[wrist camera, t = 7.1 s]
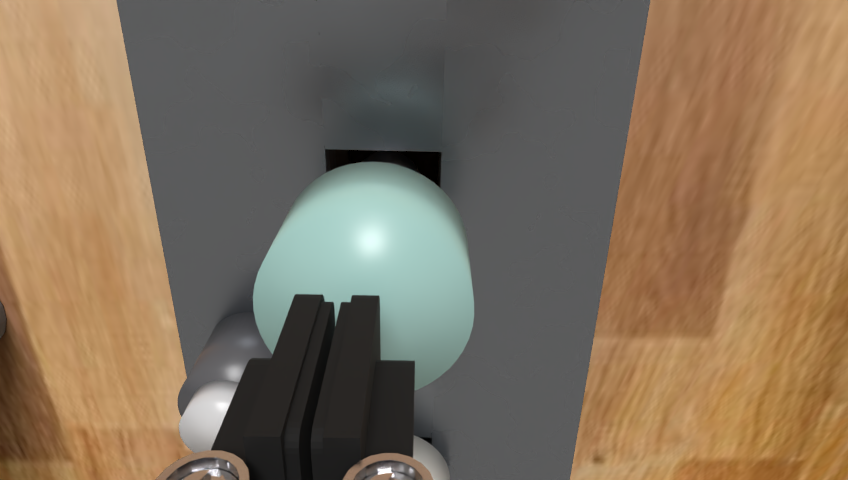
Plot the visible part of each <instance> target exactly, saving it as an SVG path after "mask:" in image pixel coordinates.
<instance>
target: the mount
mask: <svg viewBox="0 0 848 480" xmlns="http://www.w3.org/2000/svg"><path fill="white" fill-rule="evenodd" d="M649 5H650V0H117V6H118V11H119V16H120V22H121V27H122V32H123V38H124V43H125V48H126V54H127V59H128V64H129V70H130V75H131V80H132V86H133V91H134V97H135V102H136V107H137V113H138V118H139V123H140V129H141V134H142V139H143V145H144V150H145V155H146V161H147V166H148V171H149V177H150V182H151V187H152V193H153V198H154V204H155V209H156V214H157V220H158V225H159V230H160V236H161V241H162V246H163V252H164V257H165V262H166V268H167V273H168V278H169V284H170V289H171V295H172V300H173V305H174V311H175V316H176V321H177V327H178V332H179V337H180V343H181V348H182V353H183V359H184V364H185V369H186V375H187V377H188V375H189V373H190V371H191V370H192V368H193V366H194V364H195V362H196V361H197V359H198V357H199V355H200V353H201V352H202V350H203V348H204V346H205V344H206V343H207V341H208V339H209V337H210V335H211V334H212V332H213V330H214V328H215V327H216V326H217V325H218V323H219V322H221V321H222V320H223V319H225V318H226V317H228V316H231V315H233V314H237V313H243V312H254V310H253V292H254V285H255V281H256V277H257V274H258V271H259V269H260V267H261V265H262V263H263V261H264V259H265V257H266V255H267V253H268V251H269V249H270V247H271V245H272V243H273V241H274V239H275V237H276V236H277V234H278V232H279V230H280V228H281V226H282V224H283V222H284V220H285V218H286V216H287V214H288V212H289V211H290V209H291V207H292V205H293V203H294V202H295V200H296V199H297V197H298V196H299V195H300V193H301V192H302V191H303V190H304V189H305V188H306V187H307V186H308V185H309V184H310V183H312V182H313V181H314V180H315V179H317V178H318V177H320V176H321V175H323V174H325V173H327V172H329V171H331V170H333V169H335V168H338V167H341V166H345V165H348V164H349V156H348V150H383V151H427V152H439V168H438V187H440V188H441V189H442V190H443V191H444V192H445V193H446V194H447V196H448V197H449V198H450V199H451V200H452V202H453V203H454V205H455V206H456V208H457V209H458V211H459V214H460V216H461V218H462V220H463V223H464V226H465V229H466V235H467V241H468V250H469V260H470V269H471V278H472V288H473V297H474V321H473V327H472V331H471V334H470V337H469V340H468V342H467V344H466V346H465V348H464V350H463V352H462V353H461V355H460V356H459V358H458V359H457V360H456V362H455V363H454V364H453V365H452V366H451V367H450V368H449V369H448V370H447V371H446V372H445V373H444V374H442V375H441V376H440V377H439V378H437V379H436V380H434V381H433V382H431V383H430V384H428V385H426V386H424V387H422V388H420V389H418V390H415V395H414V435H415V436H417V437H419V438H421V439H423V440H425V441H427V442H428V443H429V444H431V445H432V446H433V447H435V448H436V449H437V450H438V451H439V453H440V454H441V455H442V456H443V458H444V459H445V461H446V463H447V466H448V469H449V473H450V480H570V475H571V469H572V463H573V457H574V451H575V445H576V439H577V433H578V427H579V421H580V415H581V409H582V403H583V397H584V392H585V386H586V380H587V374H588V368H589V362H590V356H591V350H592V344H593V338H594V332H595V326H596V320H597V314H598V308H599V302H600V296H601V290H602V284H603V278H604V273H605V267H606V261H607V255H608V249H609V243H610V237H611V231H612V225H613V219H614V213H615V207H616V201H617V195H618V189H619V183H620V177H621V171H622V165H623V159H624V154H625V148H626V142H627V136H628V130H629V124H630V118H631V112H632V106H633V100H634V94H635V88H636V82H637V76H638V70H639V64H640V58H641V52H642V46H643V40H644V35H645V29H646V23H647V17H648V11H649Z"/></svg>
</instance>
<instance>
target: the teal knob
mask: <svg viewBox="0 0 848 480" xmlns="http://www.w3.org/2000/svg"><path fill="white" fill-rule="evenodd" d="M295 294H322V295H323V296H324V299H325V302H333V303H334V309H335V326H336V322H337V318H338V313H339V309H340V305H341V302H351V297H352V295H379V297H380V345H381V360H407V361H415V390H418V389H420V388H422V387H424V386H426V385H428V384H430V383H431V382H433V381H434V380H436V379H437V378H439V377H440V376H441V375H442V374H444V373H445V372H446V371H447V370H448V369H449V368H450V367H451V366H452V365H453V364H454V363H455V362H456V360H457V359H458V358H459V356H460V355H461V353H462V352H463V350H464V348H465V346H466V344H467V342H468V340H469V337H470V334H471V331H472V327H473V321H474V297H473V288H472V278H471V269H470V260H469V250H468V241H467V235H466V229H465V226H464V223H463V220H462V218H461V216H460V214H459V211H458V209H457V208H456V206H455V205H454V203H453V202H452V200H451V199H450V198H449V197H448V196H447V194H446V193H445V192H444V191H443V190H442V189H441V188H440V187H438V186H437V185H436V184H435V183H434V182H432V181H431V180H429V179H428V178H426V177H425V176H423V175H421V174H420V173H419V171H418V169H417V167H416V165H415V164H414V163H413V162H412V161H411V160H410V159H409V158H408V157H406V156H405V155H403V154H400V153H398V152H394V151H380V152H376V153H373V154H371V155H369V156H368V157H366V158H365V159H364V160H363V161H362V162H359V163H354V164H348V165H345V166H341V167H338V168H335V169H333V170H331V171H329V172H327V173H325V174H323V175H321V176H320V177H318V178H317V179H315V180H314V181H313V182H312V183H310V184H309V185H308V186H307V187H306V188H305V189H304V190H303V191H302V192H301V193H300V195H299V196H298V197H297V199H296V200H295V202H294V203H293V205H292V207H291V209H290V211H289V212H288V214H287V216H286V218H285V220H284V222H283V224H282V226H281V228H280V230H279V232H278V234H277V236H276V237H275V239H274V241H273V243H272V245H271V247H270V249H269V251H268V253H267V255H266V257H265V259H264V261H263V263H262V265H261V267H260V269H259V271H258V274H257V277H256V281H255V285H254V292H253V310H254V315H255V320H256V324H257V327H258V329H259V332H260V335H261V337H262V339H263V340H264V342H265V344H266V346H267V347H268V349H269V350H270V352H271V353H272V354H273V352H274V350H275V347H276V344H277V341H278V339H279V336H280V333H281V330H282V328H283V325H284V322H285V320H286V317H287V314H288V311H289V309H290V306H291V303H292V300H293V298H294V296H295Z"/></svg>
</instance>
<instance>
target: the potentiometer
mask: <svg viewBox="0 0 848 480" xmlns="http://www.w3.org/2000/svg"><path fill="white" fill-rule="evenodd" d="M272 355H273V354H272V353H271V352H270V350H269V349H268V347H267V346H266V344H265V342H264V340H263V339H262V337H261V335H260V332H259V329H258V327H257V324H256V320H255V315H254V312H243V313H237V314H233V315H231V316H228V317H226V318H225V319H223V320H222V321H221V322H219V323H218V325H217V326H216V327H215V328H214V330H213V332H212V334H211V335H210V337H209V339H208V341H207V343H206V344H205V346H204V348H203V350H202V352H201V353H200V355H199V357H198V359H197V361H196V362H195V364H194V366H193V368H192V370H191V371H190V373H189V375H188V377H187V379H186V381H185V382H184V384H183V386H182V388H181V390H180V392H179V396H178V408H179V412H180V415H181V417H182V418H181V420H180V423H179V433H180V436H181V438H182V440H183V442H184V443H185V444H186V446H187V447H188V448H189V449H190V450H192V451H193V452H194V453H197V452H202V451H207V450H211V448H212V446H213V443H214V441H215V439H216V436H217V434H218V431H219V429H220V427H221V424H222V422H223V419H224V417H225V415H226V412H227V410H228V408H229V405H230V403H231V400H232V398H233V396H234V393H235V391H236V388H237V386H238V384H239V381H240V379H241V377H242V374H243V372H244V369H245V367H246V365H247V363H248V361H249V360H250V359H251V358H272Z"/></svg>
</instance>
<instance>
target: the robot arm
mask: <svg viewBox="0 0 848 480" xmlns="http://www.w3.org/2000/svg"><path fill="white" fill-rule="evenodd" d="M414 395H415V361H407V360H381V345H380V297H379V295H352V297H351V302H341V305H340V309H339V313H338V318H337V322H336V326H335V309H334V303H333V302H325V299H324V296H323V295H322V294H295V296H294V298H293V300H292V303H291V306H290V309H289V311H288V314H287V317H286V320H285V322H284V325H283V328H282V330H281V333H280V336H279V339H278V341H277V344H276V347H275V350H274V352H273V355H272V358H251V359H250V360H249V361H248V363H247V365H246V367H245V369H244V372H243V374H242V377H241V379H240V381H239V384H238V386H237V388H236V391H235V393H234V396H233V398H232V400H231V403H230V405H229V408H228V410H227V412H226V415H225V417H224V419H223V422H222V424H221V427H220V429H219V431H218V434H217V436H216V439H215V441H214V443H213V446H212V448H211V450H207V451H202V452H197V453H193V454H190V455H188V456H186V457H183V458H181V459H178V460H177V461H176V462H174V463H173V464H171V465H170V466H168V467H167V468H166V469H165V470H164V471H163V472H162V473H161V474H160V475H159V476H158V477H157V478H156V480H433V478H432V475H431V473H430V472H429V470H428V469H427V468H426V467H425V466H424V465H423V464H422V463H421V462H419V461H417V460H415V459H414V458H413V445H414Z"/></svg>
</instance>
